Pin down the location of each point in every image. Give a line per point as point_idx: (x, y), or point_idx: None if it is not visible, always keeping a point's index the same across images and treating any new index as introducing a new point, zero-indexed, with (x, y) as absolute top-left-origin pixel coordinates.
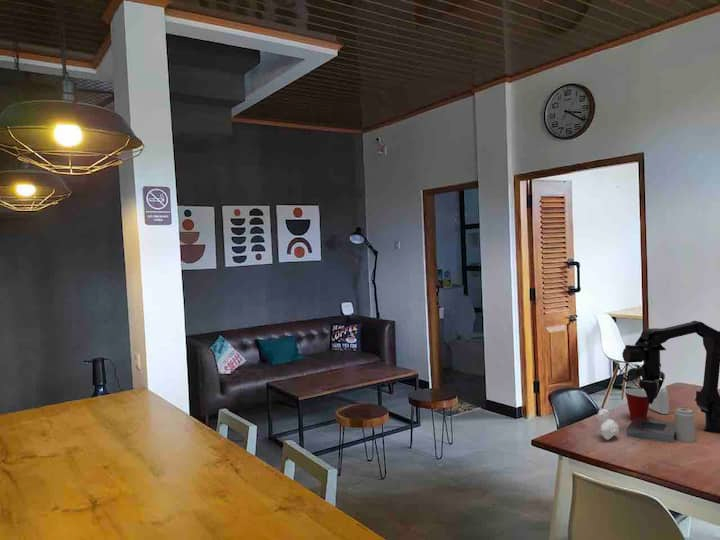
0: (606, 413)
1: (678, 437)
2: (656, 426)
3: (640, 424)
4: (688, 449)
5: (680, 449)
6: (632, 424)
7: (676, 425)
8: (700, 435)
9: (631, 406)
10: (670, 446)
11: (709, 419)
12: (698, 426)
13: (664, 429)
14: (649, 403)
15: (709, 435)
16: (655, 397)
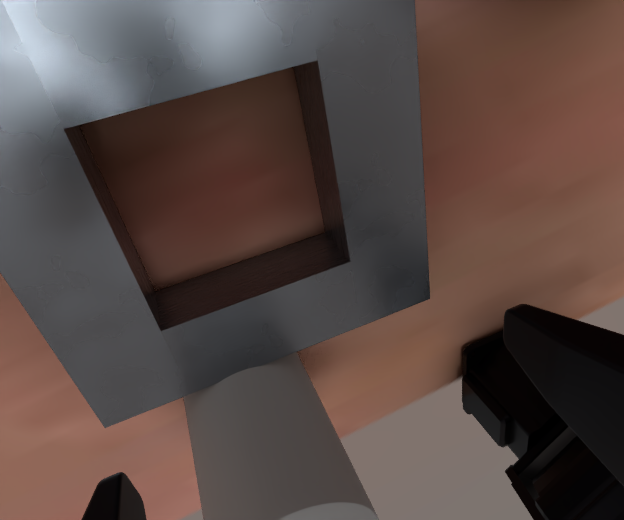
0: None
1: None
2: (324, 173)
3: (178, 89)
4: (75, 473)
5: (24, 458)
6: (95, 9)
7: (212, 445)
8: (386, 369)
9: None
10: (19, 402)
11: (513, 422)
12: (536, 286)
13: (205, 315)
14: (100, 485)
15: (412, 389)
16: (517, 349)
